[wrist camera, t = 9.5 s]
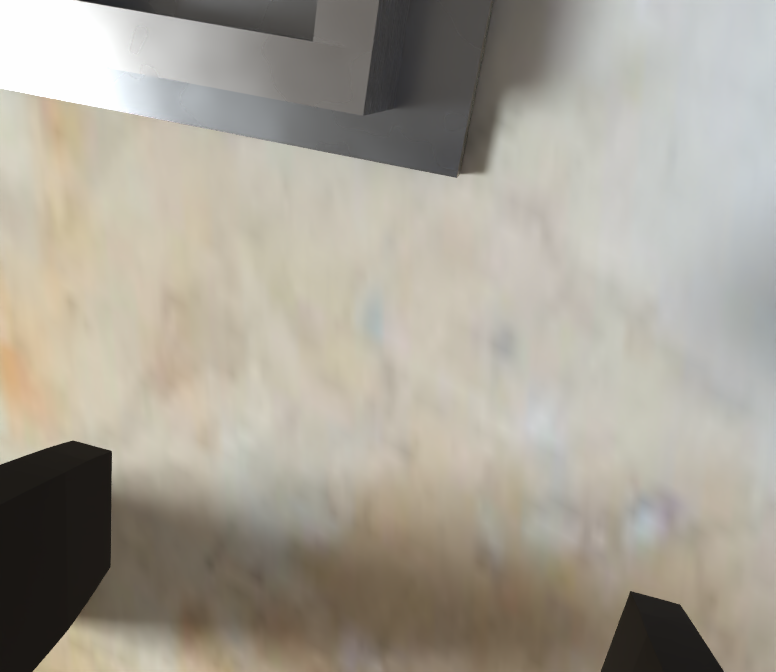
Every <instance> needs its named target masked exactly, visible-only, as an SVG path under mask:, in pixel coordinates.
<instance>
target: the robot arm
mask: <svg viewBox="0 0 776 672" xmlns="http://www.w3.org/2000/svg"><path fill="white" fill-rule="evenodd" d="M111 474H112V451H110V450H106V449H102V448H99V447H95V446H91V445H88V444H84V443H80V442H76V441H70V442H66V443H63V444H59V445H56V446H53V447H50V448H47V449H44V450H41V451H38V452H35V453H32V454H29V455H26V456H23V457H21V458H18V459H15V460H12V461H10V462H7V463H4V464H1V465H0V672H33V670H34V669H35V668H36V667H37V666H38V665H39V663H40V662H41V661H42V660H43V659H44V658H45V656H46V655H47V654H48V653H49V652H50V651H51V649H52V648H53V647H54V646H55V645H56V644H57V642H58V641H59V640H60V639H61V638H62V636H63V635H64V634H65V633H66V632H67V630H68V629H69V628H70V626H71V625H72V623H73V622H74V621H75V619H76V618H77V616H78V615H79V613H80V612H81V610H82V609H83V608H84V606H85V605H86V603H87V602H88V600H89V599H90V597H91V596H92V594H93V593H94V591H95V590H96V588H97V587H98V585H99V583H100V582H101V580H102V579H103V577H104V576H105V574H106V573H107V571H108V570H109V568H110V558H111ZM601 672H724V671H723V669H722V668H721V666H720V665H719V663H718V662H717V660H716V659H715V657H714V656H713V654H712V653H711V651H710V649H709V648H708V646H707V645H706V643H705V642H704V640H703V639H702V637H701V636H700V634H699V632H698V631H697V629H696V628H695V626H694V625H693V623H692V622H691V620H690V619H689V617H688V616H687V614H686V613H685V611H684V610H683V608H682V607H681V605H680V604H676V603H672V602H669V601H665V600H661V599H658V598H654V597H650V596H646V595H643V594H639V593H635V592H632V591H630V594H629V597H628V599H627V602H626V605H625V607H624V610H623V613H622V616H621V618H620V621H619V624H618V626H617V629H616V632H615V635H614V637H613V640H612V643H611V645H610V648H609V651H608V654H607V656H606V659H605V662H604V664H603V667H602V670H601Z"/></svg>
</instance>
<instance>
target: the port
mask: <svg viewBox="0 0 776 672" xmlns="http://www.w3.org/2000/svg"><path fill="white" fill-rule="evenodd" d="M493 1H494V0H0V88H3V89H8V90H13V91H18V92H23V93H28V94H33V95H38V96H43V97H48V98H53V99H59V100H64V101H69V102H74V103H79V104H84V105H89V106H94V107H99V108H104V109H110V110H115V111H120V112H125V113H130V114H135V115H140V116H145V117H150V118H155V119H160V120H166V121H171V122H176V123H181V124H186V125H191V126H196V127H201V128H206V129H211V130H216V131H222V132H227V133H232V134H237V135H242V136H247V137H252V138H257V139H262V140H267V141H272V142H278V143H283V144H288V145H293V146H298V147H303V148H308V149H313V150H318V151H323V152H328V153H334V154H339V155H344V156H349V157H354V158H359V159H364V160H369V161H374V162H379V163H384V164H390V165H395V166H400V167H405V168H410V169H415V170H420V171H425V172H430V173H435V174H441V175H446V176H451V177H456V178H457V177H458V176H459V175H460V170H461V165H462V159H463V154H464V149H465V144H466V139H467V134H468V129H469V124H470V119H471V113H472V108H473V103H474V98H475V93H476V88H477V83H478V78H479V73H480V67H481V62H482V57H483V52H484V47H485V42H486V37H487V32H488V26H489V21H490V16H491V11H492V6H493Z"/></svg>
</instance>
